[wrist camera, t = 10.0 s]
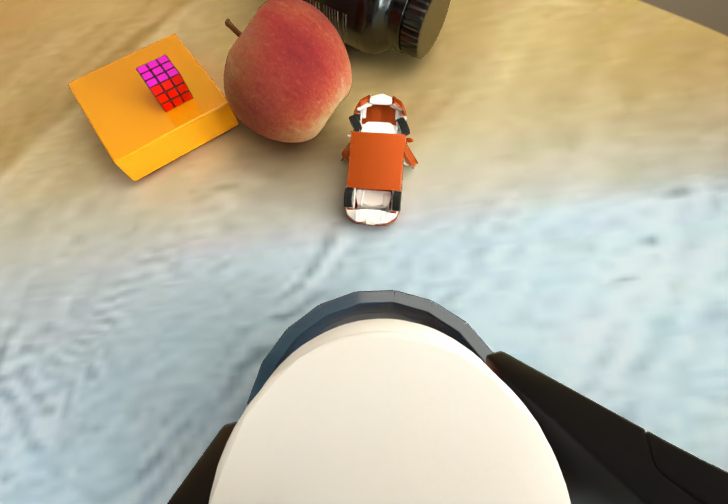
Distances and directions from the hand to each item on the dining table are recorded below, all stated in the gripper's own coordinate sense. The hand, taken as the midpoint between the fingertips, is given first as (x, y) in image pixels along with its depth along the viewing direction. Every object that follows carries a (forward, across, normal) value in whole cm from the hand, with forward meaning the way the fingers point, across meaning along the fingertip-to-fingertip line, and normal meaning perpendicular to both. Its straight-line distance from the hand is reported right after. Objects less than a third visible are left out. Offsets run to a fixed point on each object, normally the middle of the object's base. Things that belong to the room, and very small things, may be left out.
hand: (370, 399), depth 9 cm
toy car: (+15, -4, -3) cm, 16 cm away
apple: (+19, -2, -5) cm, 20 cm away
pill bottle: (+4, 0, +6) cm, 7 cm away
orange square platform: (+24, +10, -7) cm, 27 cm away
